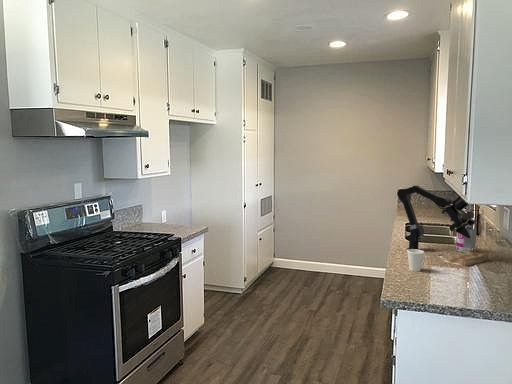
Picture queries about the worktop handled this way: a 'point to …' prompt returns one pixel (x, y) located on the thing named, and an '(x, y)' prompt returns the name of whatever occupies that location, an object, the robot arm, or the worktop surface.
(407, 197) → the robot arm
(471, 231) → the grey knobbed block
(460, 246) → the sparkling drink can
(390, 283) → the worktop surface
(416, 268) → the dixie cup
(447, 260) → the wooden dish rack
